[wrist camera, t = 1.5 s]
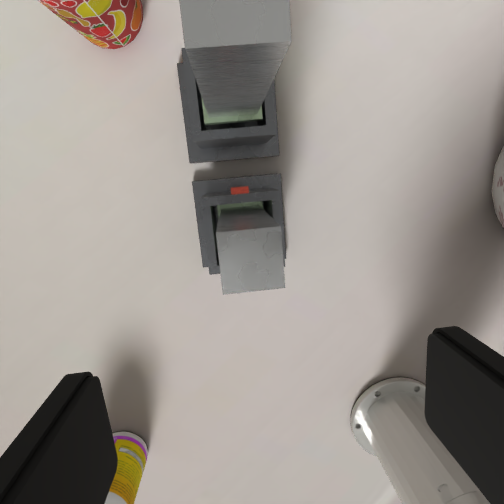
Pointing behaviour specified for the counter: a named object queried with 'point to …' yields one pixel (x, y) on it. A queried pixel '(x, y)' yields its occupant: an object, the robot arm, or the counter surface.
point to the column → (249, 248)
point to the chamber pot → (499, 188)
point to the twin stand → (232, 76)
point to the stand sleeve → (231, 193)
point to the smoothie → (101, 19)
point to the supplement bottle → (127, 468)
